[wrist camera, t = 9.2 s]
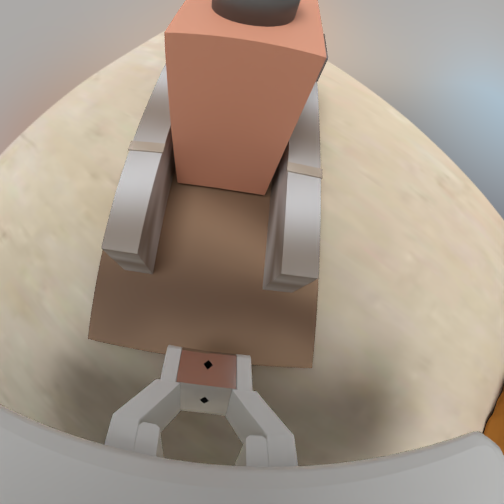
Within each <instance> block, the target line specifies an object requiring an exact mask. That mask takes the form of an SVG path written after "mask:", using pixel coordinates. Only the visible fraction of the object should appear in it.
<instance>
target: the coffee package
mask: <svg viewBox="0 0 504 504" xmlns="http://www.w3.org/2000/svg"><path fill="white" fill-rule="evenodd" d="M483 434H484V435H486V436H487V437H488V438H489V439H491V440H492V441H493V442H495V443H496V444H497V445H498V446H499V447H500V449H501V451H502V453H503V455H504V388H503V391H502V393H501V395H500V397H499V398H498V400H497V403H496V406H495V409H494V413H493V414H492V416H491V417H490V418H489V420H488V422H487V424H486V426H485V431H484V433H483Z"/></svg>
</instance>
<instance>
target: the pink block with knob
mask: <svg viewBox="0 0 504 504" xmlns="http://www.w3.org/2000/svg"><path fill="white" fill-rule="evenodd" d="M164 33H165V54H166V71H167V85H168V98H169V110H170V121H171V131H172V140H173V150H174V158H175V167H176V175H177V182H178V183H184V184H191V185H199V186H206V187H213V188H220V189H227V190H234V191H241V192H247V193H253V194H259V195H265V193H266V191H267V189H268V186H269V184H270V182H271V180H272V177H273V175H274V173H275V171H276V168H277V166H278V164H279V162H280V159H281V157H282V155H283V153H284V150H285V148H286V146H287V144H288V142H289V139H290V137H291V135H292V133H293V130H294V128H295V126H296V124H297V122H298V119H299V117H300V115H301V113H302V110H303V108H304V106H305V104H306V102H307V99H308V97H309V95H310V93H311V91H312V88H313V86H314V84H315V82H316V80H317V77H318V75H319V73H320V71H321V69H322V67H323V64H324V62H325V60H326V58H327V57H326V49H325V42H324V35H323V29H322V23H321V17H320V11H319V5H318V0H186V1H185V2H184V3H183V5H182V6H181V8H180V10H179V11H178V12H177V14H176V15H175V17H174V18H173V20H172V21H171V23H170V25H169V26H168V28H167V29H166V31H165V32H164Z"/></svg>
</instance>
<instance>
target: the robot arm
mask: <svg viewBox="0 0 504 504" xmlns="http://www.w3.org/2000/svg"><path fill="white" fill-rule="evenodd" d="M180 410H182V411H190V412H200V413H208V414H215V415H223V416H226V418H227V420H228V422H229V423H230V425H231V426H232V428H233V430H234V431H235V433H236V434H237V436H238V438H239V439H240V441H241V442H242V444H243V446H242V449H241V451H240V453H239V455H238V458H237V460H236V462H235V466H229V465H216V464H205V463H196V462H188V461H181V460H174V459H168V458H163V448H162V441H161V434H160V433H161V432H162V431H163V430H164V428H165V427H166V426H167V425H168V424H169V423H170V422H171V421H172V420H173V419H174V418H175V416H176V415H177V414H178V413H179V412H180ZM0 504H504V455H503V453H502V451H501V449H500V447H499V446H498V445H497V444H496V443H495V442H493V441H492V440H491V439H489V438H488V437H487V436H486V435H484V434H482V433H481V432H479V431H474V432H470V433H467V434H464V435H461V436H459V437H456V438H453V439H449V440H446V441H443V442H440V443H436V444H433V445H429V446H425V447H422V448H418V449H414V450H410V451H405V452H401V453H396V454H392V455H387V456H381V457H376V458H370V459H364V460H357V461H350V462H342V463H333V464H322V465H309V466H298V461H297V454H296V446H295V439H294V435H293V434H292V432H291V431H290V430H289V429H288V428H287V427H286V426H285V424H284V423H283V422H282V421H281V420H280V419H279V417H278V416H277V415H276V414H275V413H274V412H273V410H272V409H271V408H270V407H269V406H268V404H267V403H266V402H265V401H264V400H263V398H262V397H261V396H260V395H259V393H258V392H257V391H253V387H252V367H251V357H250V355H240V354H231V353H221V352H212V351H203V350H197V349H191V348H185V347H178V346H173V345H168V347H167V351H166V355H165V359H164V364H163V368H162V373H161V377H160V379H155V380H154V381H153V382H152V383H150V384H149V385H148V386H147V387H145V388H144V389H143V390H142V391H141V392H139V393H138V394H137V395H136V396H134V397H133V398H132V399H131V400H129V401H128V402H127V403H126V404H124V405H123V406H122V407H121V408H119V409H118V410H117V411H116V412H114V413H113V415H112V418H111V422H110V425H109V429H108V433H107V436H106V440H105V444H100V443H97V442H93V441H90V440H87V439H84V438H81V437H78V436H75V435H72V434H69V433H66V432H63V431H60V430H58V429H55V428H52V427H50V426H47V425H45V424H42V423H40V422H37V421H35V420H32V419H30V418H28V417H26V416H23V415H21V414H19V413H17V412H15V411H13V410H11V409H8V408H6V407H4V406H2V405H0Z"/></svg>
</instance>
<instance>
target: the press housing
mask: <svg viewBox="0 0 504 504" xmlns="http://www.w3.org/2000/svg"><path fill="white" fill-rule="evenodd" d="M323 35H324V34H323ZM324 42H325V36H324ZM325 49H326V57H327V58H326V60H325V62H324V64H323V67H322V69H321V71H320V73H319V75H318V77H317V80H316V82H315V84H314V86H313V88H312V91H311V93H310V95H309V97H308V99H307V102H306V104H305V106H304V108H303V110H302V113H301V115H300V117H299V119H298V122H297V124H296V126H295V128H294V130H293V133H292V135H291V137H290V139H289V142H288V144H287V146H286V148H285V150H284V153H283V155H282V157H281V159H280V162H279V164H278V166H277V168H276V171H275V173H274V175H273V177H272V180H271V182H270V184H269V186H268V189H267V191H266V193H265V195H259V194H253V193H247V192H241V191H234V190H227V189H220V188H213V187H206V186H199V185H191V184H184V183H178V182H177V175H176V167H175V158H174V150H173V140H172V131H171V121H170V110H169V98H168V85H167V71H166V64H165V66H164V68H163V70H162V72H161V74H160V77H159V79H158V81H157V83H156V85H155V88H154V90H153V92H152V94H151V97H150V99H149V101H148V104H147V106H146V109H145V111H144V113H143V116H142V118H141V121H140V123H139V126H138V129H137V131H136V134H135V137H134V139H133V141H131V143H130V145H129V148H128V150H129V153H128V156H127V159H126V162H125V165H124V168H123V171H122V174H121V177H120V181H119V184H118V187H117V190H116V194H115V197H114V201H113V204H112V208H111V211H110V215H109V219H108V223H107V227H106V231H105V235H104V239H103V243H102V249H103V251H102V256H101V261H100V266H99V271H98V276H97V281H96V287H95V292H94V298H93V305H92V311H91V318H90V326H89V334H88V339H91V340H95V341H100V342H104V343H109V344H113V345H118V346H123V347H128V348H133V349H138V350H144V351H149V352H155V353H161V354H166V351H167V347H168V345H173V346H178V347H185V348H191V349H197V350H203V351H212V352H221V353H231V354H240V355H250V357H251V365H262V366H277V367H297V368H312V363H313V352H314V340H315V327H316V313H317V297H318V278H319V257H320V214H321V179H322V169H321V168H320V129H319V106H318V88H317V81H318V79H319V77H320V75H321V73H322V71H323V68H324V66H325V64H326V62H327V60H328V56H327V48H326V42H325Z"/></svg>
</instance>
